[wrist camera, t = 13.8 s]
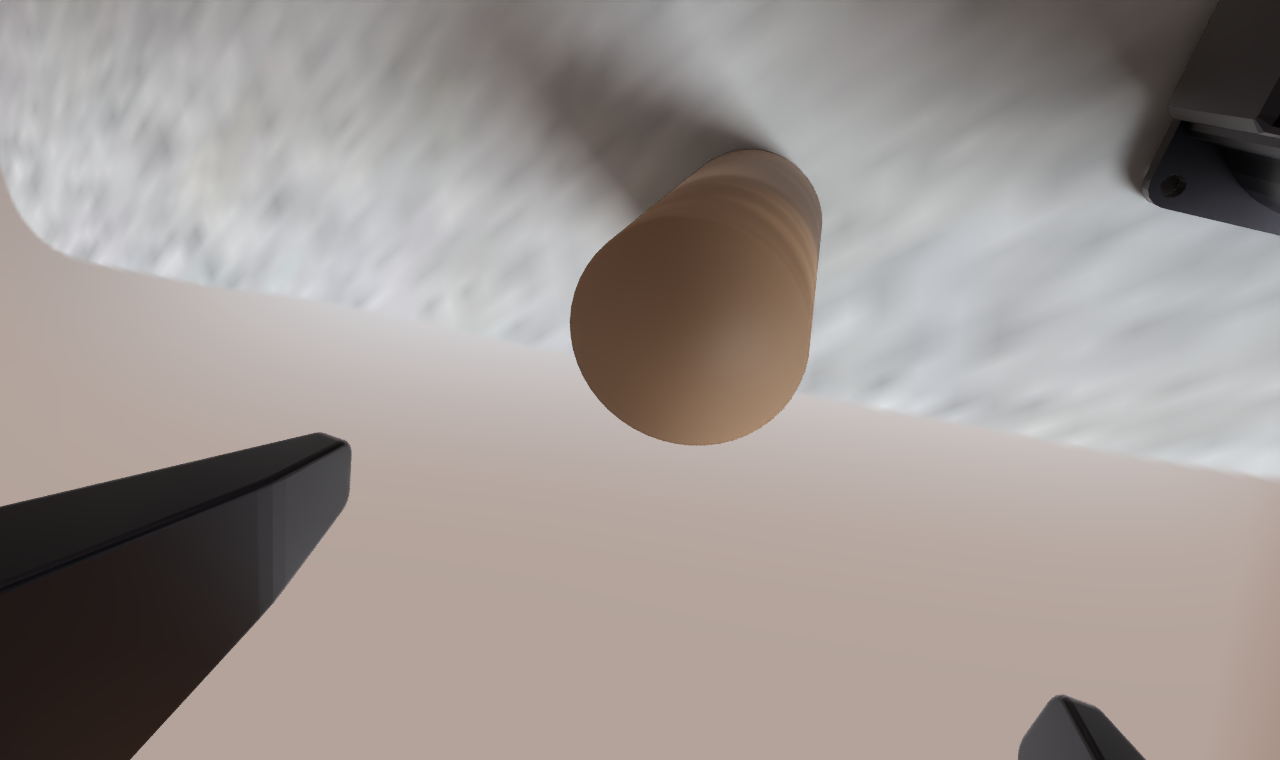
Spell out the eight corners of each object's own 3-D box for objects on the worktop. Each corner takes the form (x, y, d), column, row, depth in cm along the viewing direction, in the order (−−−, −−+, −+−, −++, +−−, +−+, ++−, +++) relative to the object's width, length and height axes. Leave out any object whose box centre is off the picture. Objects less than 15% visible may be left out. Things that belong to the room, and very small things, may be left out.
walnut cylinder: (841, 169, 19) (844, 252, 11) (797, 311, 20) (771, 473, 13) (692, 133, 19) (590, 187, 11) (662, 274, 21) (555, 408, 13)
